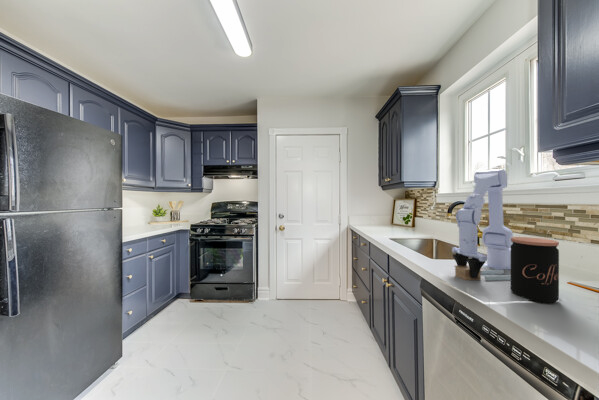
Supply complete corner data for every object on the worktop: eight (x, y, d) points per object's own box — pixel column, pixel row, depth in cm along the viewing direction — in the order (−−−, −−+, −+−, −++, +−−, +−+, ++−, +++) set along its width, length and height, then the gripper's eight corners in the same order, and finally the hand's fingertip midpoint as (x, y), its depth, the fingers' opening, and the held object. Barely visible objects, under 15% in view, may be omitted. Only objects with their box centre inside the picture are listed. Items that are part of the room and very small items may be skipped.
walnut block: (470, 276, 92) (470, 265, 92) (480, 281, 87) (480, 269, 87) (455, 277, 92) (455, 265, 92) (465, 281, 87) (465, 269, 87)
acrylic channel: (502, 274, 94) (502, 269, 94) (520, 281, 87) (520, 275, 87) (470, 275, 93) (470, 270, 93) (485, 282, 86) (485, 276, 86)
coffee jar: (520, 301, 70) (520, 241, 70) (504, 288, 80) (504, 236, 80) (568, 307, 66) (568, 244, 66) (545, 293, 76) (545, 238, 76)
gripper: (445, 236, 96) (445, 269, 96) (473, 243, 82) (473, 282, 82) (461, 236, 97) (461, 269, 97) (492, 243, 82) (492, 281, 82)
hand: (468, 275), depth 90 cm, fingers closed on walnut block, 5 cm apart
